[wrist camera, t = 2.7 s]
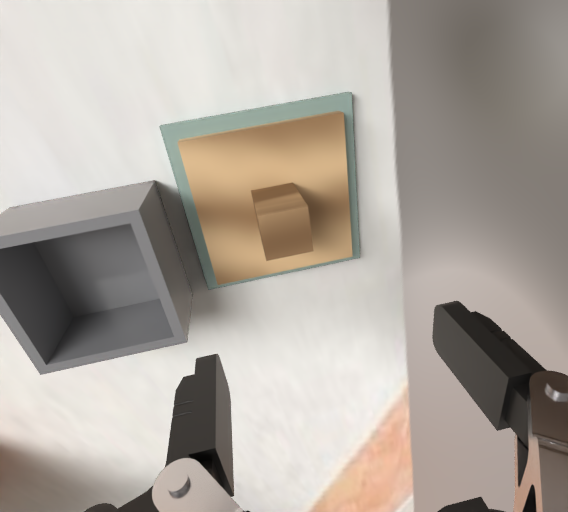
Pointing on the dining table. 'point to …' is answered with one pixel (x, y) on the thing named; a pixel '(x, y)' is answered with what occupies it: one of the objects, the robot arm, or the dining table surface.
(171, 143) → the mat
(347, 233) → the lid
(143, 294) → the open box
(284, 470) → the dining table surface
